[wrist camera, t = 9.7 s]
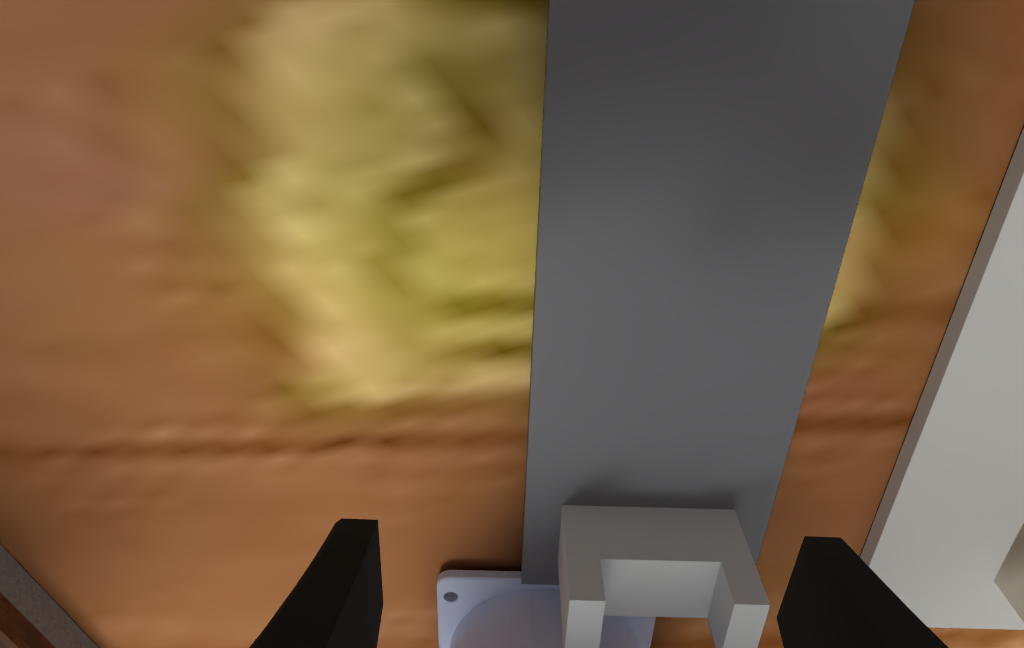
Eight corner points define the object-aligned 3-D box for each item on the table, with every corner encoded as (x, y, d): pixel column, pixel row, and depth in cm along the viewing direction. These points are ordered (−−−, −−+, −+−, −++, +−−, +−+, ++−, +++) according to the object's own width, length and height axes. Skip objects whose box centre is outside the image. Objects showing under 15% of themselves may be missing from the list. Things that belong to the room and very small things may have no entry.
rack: (743, 571, 25) (783, 689, 21) (521, 566, 25) (521, 683, 21) (976, -296, 14) (1162, -385, 10) (563, -309, 14) (582, -406, 10)
